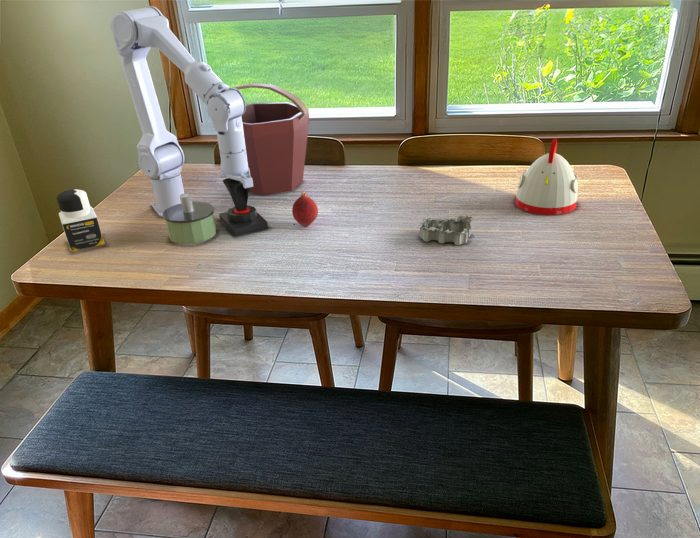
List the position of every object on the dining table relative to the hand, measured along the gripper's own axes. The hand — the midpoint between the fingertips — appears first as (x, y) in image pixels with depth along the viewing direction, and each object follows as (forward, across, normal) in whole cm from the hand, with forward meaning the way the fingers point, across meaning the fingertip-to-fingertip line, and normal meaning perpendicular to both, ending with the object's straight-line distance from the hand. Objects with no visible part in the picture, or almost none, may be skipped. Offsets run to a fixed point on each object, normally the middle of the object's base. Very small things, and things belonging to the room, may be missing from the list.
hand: (241, 209), depth 141 cm
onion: (+4, +9, +12) cm, 15 cm away
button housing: (+4, 0, 0) cm, 4 cm away
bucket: (+4, -22, +17) cm, 28 cm away
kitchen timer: (+4, +31, +65) cm, 72 cm away
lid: (-2, 0, -12) cm, 12 cm away
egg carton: (+4, +32, +34) cm, 47 cm away
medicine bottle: (+4, -10, -34) cm, 35 cm away
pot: (+4, 0, -12) cm, 13 cm away
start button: (+2, 0, 0) cm, 2 cm away
